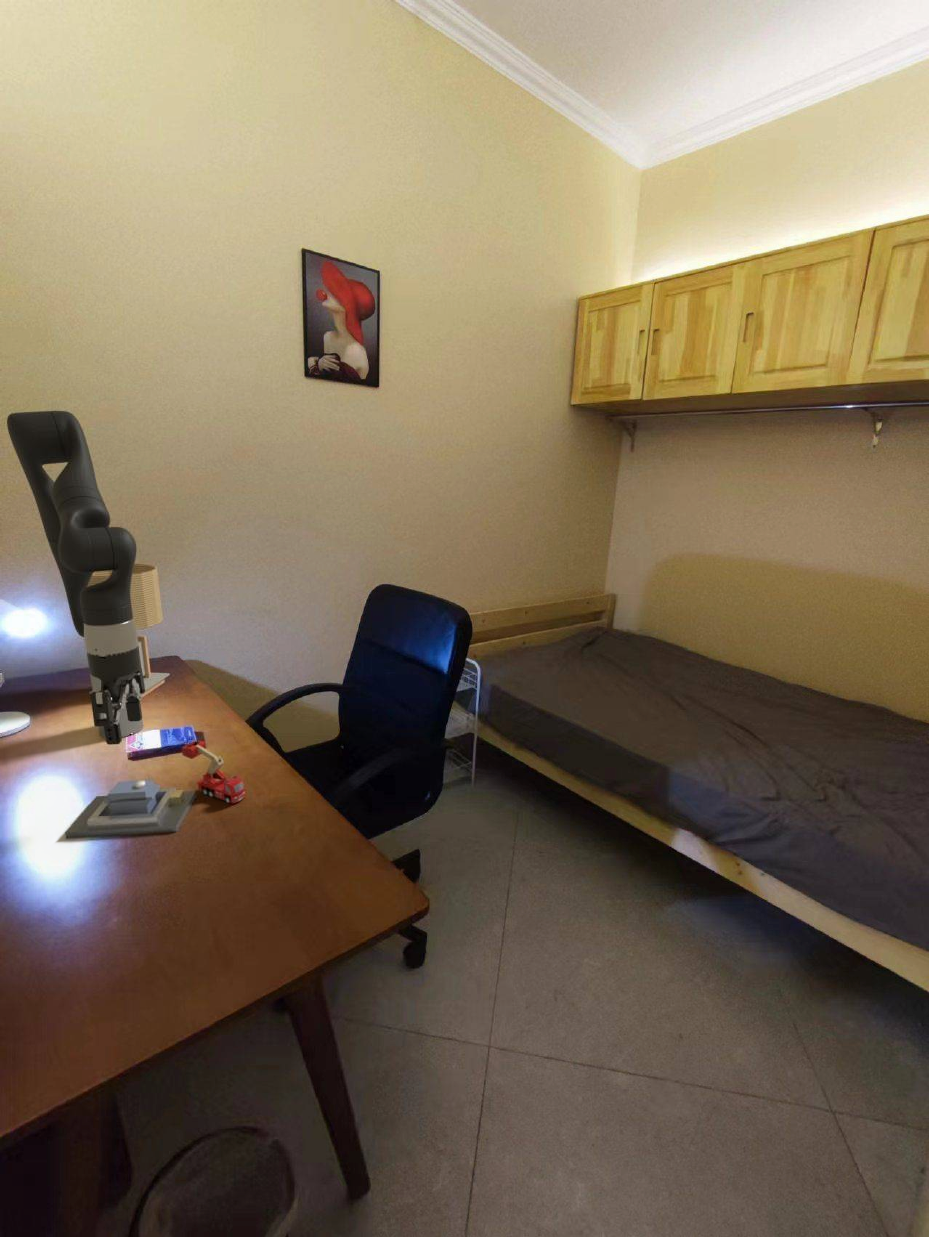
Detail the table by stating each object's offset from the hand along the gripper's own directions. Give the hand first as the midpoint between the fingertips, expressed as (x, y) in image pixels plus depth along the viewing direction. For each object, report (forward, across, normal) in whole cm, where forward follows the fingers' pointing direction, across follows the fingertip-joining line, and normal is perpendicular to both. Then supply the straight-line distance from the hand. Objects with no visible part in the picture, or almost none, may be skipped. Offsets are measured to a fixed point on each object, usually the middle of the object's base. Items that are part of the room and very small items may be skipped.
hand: (125, 731), depth 97 cm
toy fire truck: (+18, -6, +12) cm, 22 cm away
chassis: (+17, 0, 0) cm, 17 cm away
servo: (+16, 0, 0) cm, 16 cm away
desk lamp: (+18, -62, -25) cm, 70 cm away
